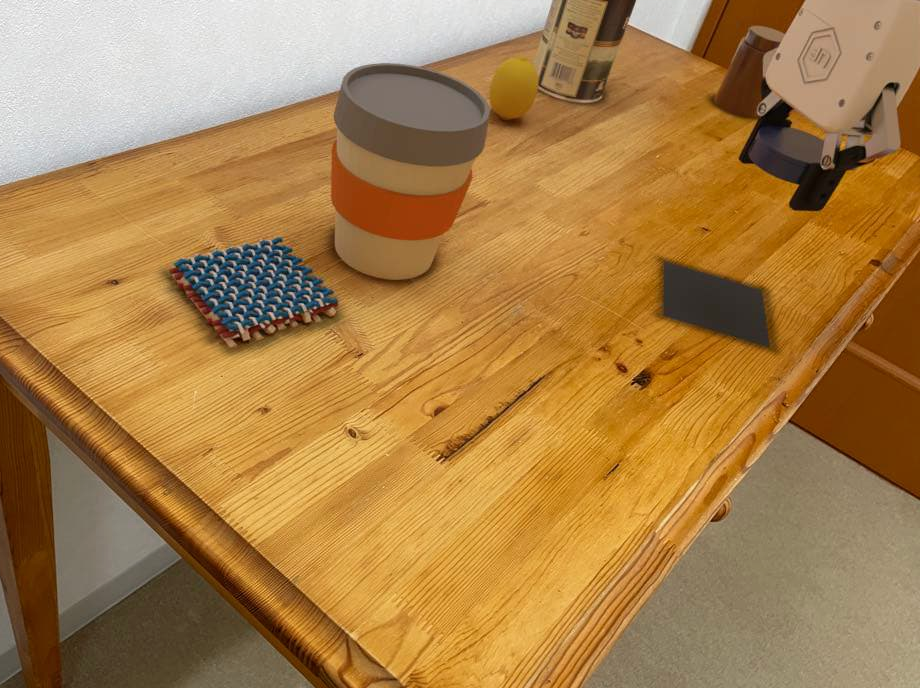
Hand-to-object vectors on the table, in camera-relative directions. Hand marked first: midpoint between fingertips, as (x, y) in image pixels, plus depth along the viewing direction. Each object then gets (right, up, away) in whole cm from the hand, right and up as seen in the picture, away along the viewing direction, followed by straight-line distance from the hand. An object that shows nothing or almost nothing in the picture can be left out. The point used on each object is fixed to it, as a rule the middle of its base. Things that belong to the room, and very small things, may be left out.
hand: (778, 183), depth 72 cm
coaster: (-2, -9, +9) cm, 13 cm away
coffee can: (-9, +24, +43) cm, 50 cm away
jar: (+16, +23, +48) cm, 56 cm away
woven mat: (-44, -10, -3) cm, 46 cm away
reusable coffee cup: (-34, -5, +5) cm, 35 cm away
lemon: (-19, +16, +31) cm, 40 cm away
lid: (+1, +2, -2) cm, 3 cm away
